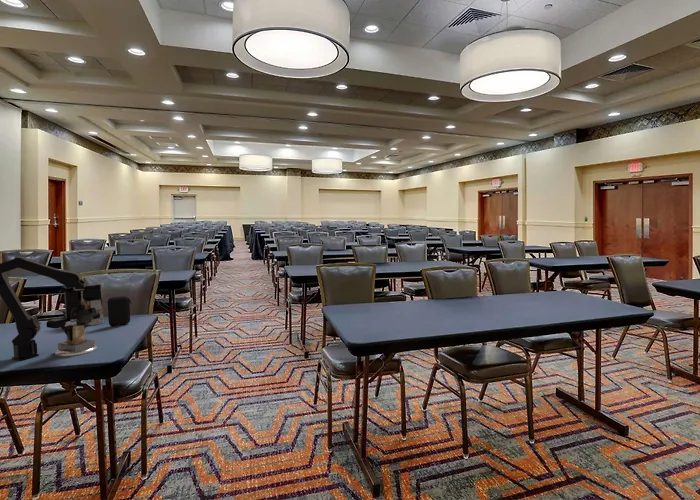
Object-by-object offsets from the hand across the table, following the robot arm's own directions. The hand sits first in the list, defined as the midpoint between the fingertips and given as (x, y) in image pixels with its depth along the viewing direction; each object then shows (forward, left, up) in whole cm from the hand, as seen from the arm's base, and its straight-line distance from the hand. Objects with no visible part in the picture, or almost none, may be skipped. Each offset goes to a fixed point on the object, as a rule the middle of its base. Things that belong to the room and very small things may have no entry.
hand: (75, 339), depth 168 cm
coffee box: (+32, +36, -5) cm, 48 cm away
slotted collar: (0, 0, -5) cm, 5 cm away
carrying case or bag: (+35, +19, -5) cm, 40 cm away
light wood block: (0, 0, -3) cm, 3 cm away
